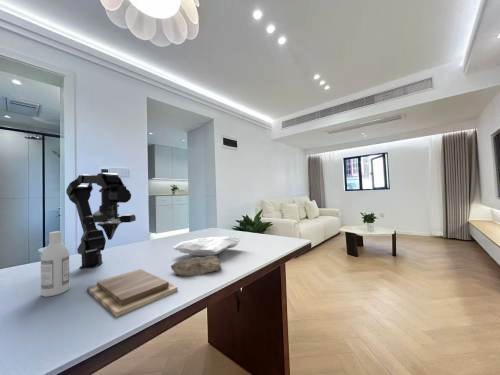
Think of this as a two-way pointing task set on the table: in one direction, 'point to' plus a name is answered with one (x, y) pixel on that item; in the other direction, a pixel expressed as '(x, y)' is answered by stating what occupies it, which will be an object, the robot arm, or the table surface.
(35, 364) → the table surface
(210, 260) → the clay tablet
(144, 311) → the table surface
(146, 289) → the walnut plank
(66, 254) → the bath foam
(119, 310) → the oak floor board
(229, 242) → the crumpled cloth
